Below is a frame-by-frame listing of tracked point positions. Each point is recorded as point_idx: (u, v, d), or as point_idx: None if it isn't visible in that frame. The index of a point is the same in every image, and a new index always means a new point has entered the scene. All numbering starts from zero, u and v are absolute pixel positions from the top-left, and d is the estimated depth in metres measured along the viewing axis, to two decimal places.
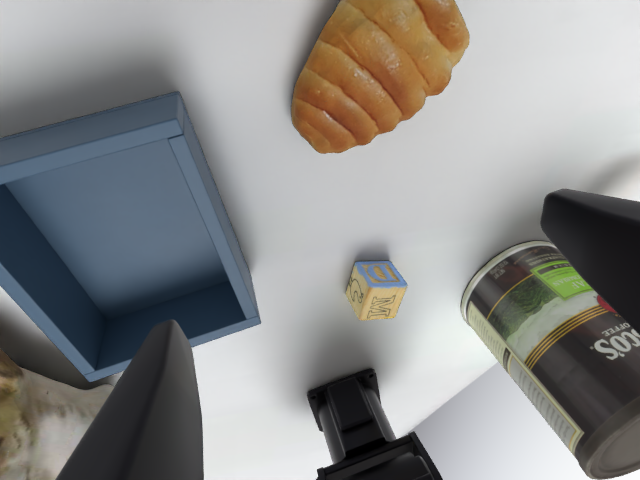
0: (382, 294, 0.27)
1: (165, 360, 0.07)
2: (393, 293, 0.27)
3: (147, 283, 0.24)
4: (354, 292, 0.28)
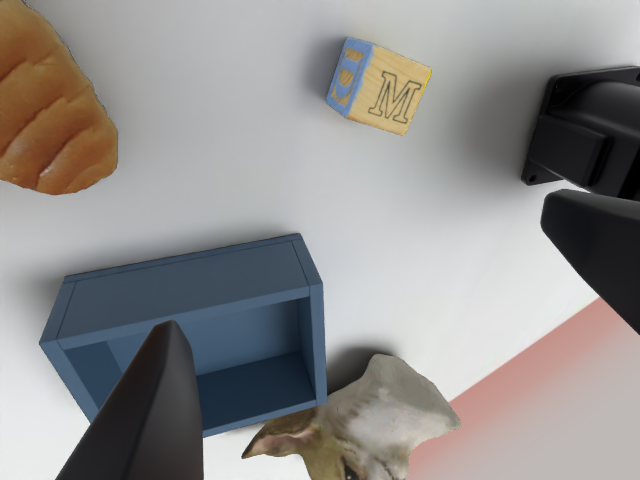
0: (369, 96, 0.16)
1: (165, 360, 0.07)
2: (377, 75, 0.16)
3: (271, 322, 0.25)
4: None
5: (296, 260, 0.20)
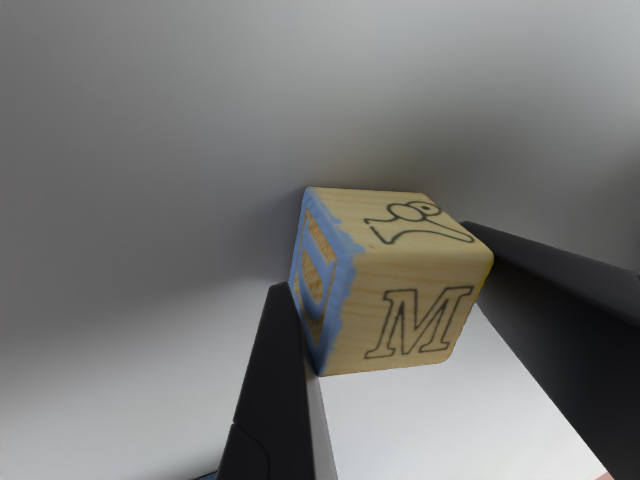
0: (363, 336, 0.07)
1: (297, 314, 0.07)
2: (372, 301, 0.07)
3: None
4: None
5: None
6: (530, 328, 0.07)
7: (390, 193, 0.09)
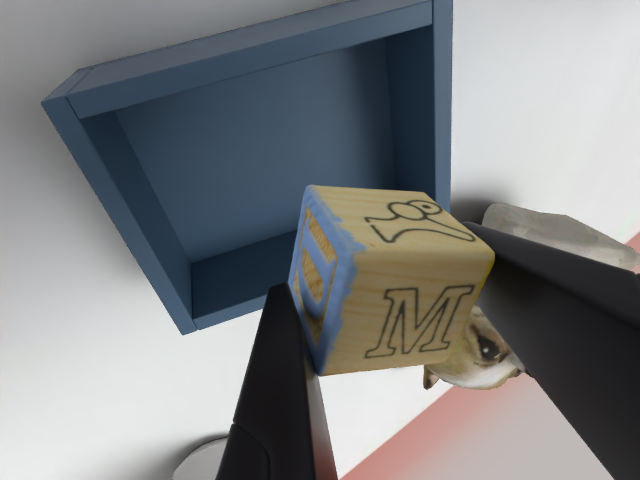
0: (363, 336, 0.07)
1: (298, 314, 0.07)
2: (373, 300, 0.07)
3: (358, 148, 0.18)
4: None
5: None
6: (530, 328, 0.07)
7: (390, 192, 0.09)
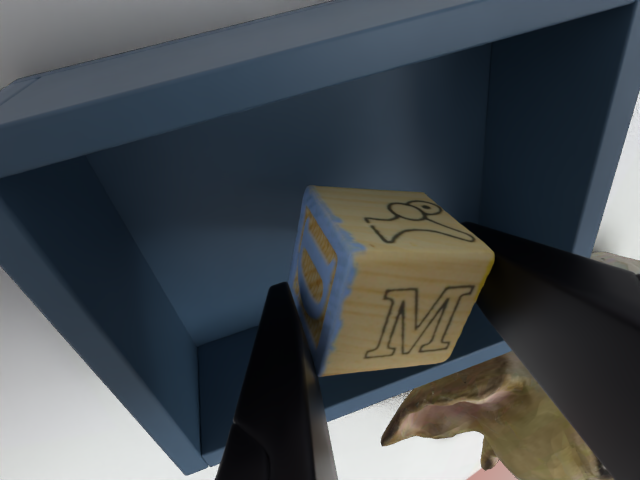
0: (363, 336, 0.07)
1: (297, 314, 0.07)
2: (373, 300, 0.07)
3: (435, 188, 0.13)
4: None
5: None
6: (530, 328, 0.07)
7: (390, 192, 0.09)
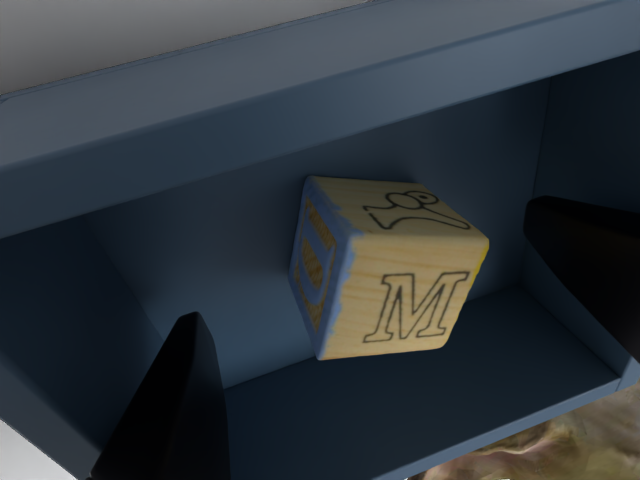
0: (361, 320, 0.08)
1: (193, 350, 0.07)
2: (371, 285, 0.07)
3: (478, 218, 0.11)
4: None
5: None
6: (622, 293, 0.08)
7: (388, 183, 0.09)
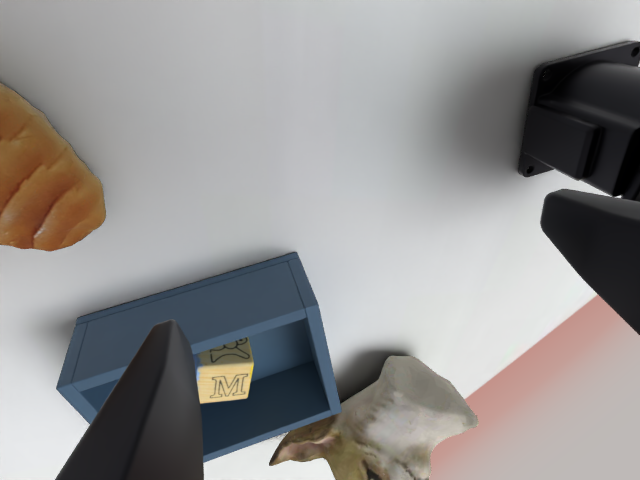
0: (207, 391, 0.22)
1: (165, 360, 0.07)
2: (208, 380, 0.22)
3: (280, 337, 0.26)
4: None
5: (292, 281, 0.21)
6: None
7: None
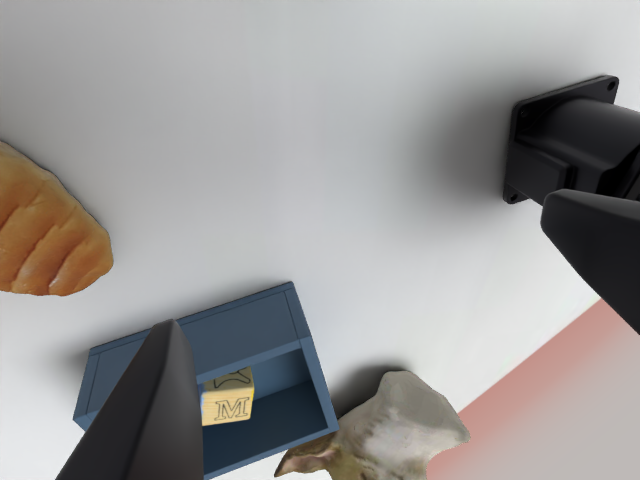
0: (212, 414, 0.24)
1: (165, 360, 0.07)
2: (212, 404, 0.23)
3: (280, 359, 0.27)
4: None
5: (288, 312, 0.22)
6: None
7: None
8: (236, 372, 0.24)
